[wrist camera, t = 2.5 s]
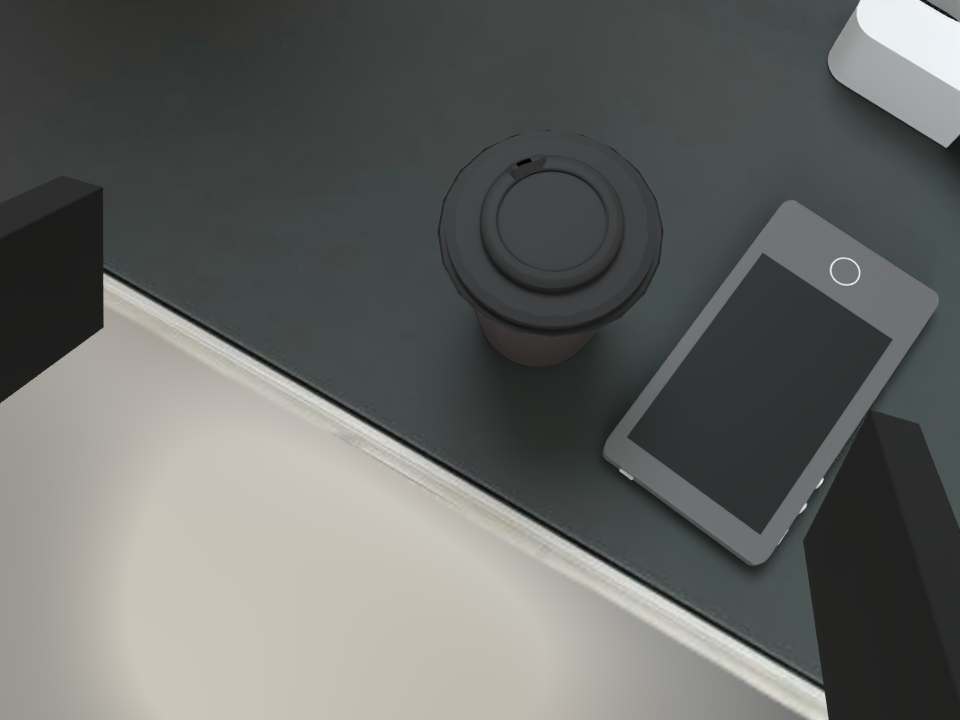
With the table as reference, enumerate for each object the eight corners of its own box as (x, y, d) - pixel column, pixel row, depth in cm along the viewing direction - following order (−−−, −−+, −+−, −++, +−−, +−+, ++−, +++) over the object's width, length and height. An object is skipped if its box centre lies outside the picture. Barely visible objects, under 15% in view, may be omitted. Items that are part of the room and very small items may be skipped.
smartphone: (756, 574, 38) (761, 573, 37) (595, 454, 39) (597, 452, 38) (938, 303, 41) (946, 298, 40) (783, 202, 42) (788, 195, 42)
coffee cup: (516, 196, 43) (524, 73, 33) (661, 291, 41) (714, 192, 32) (412, 329, 41) (388, 241, 31) (560, 433, 39) (583, 374, 30)
